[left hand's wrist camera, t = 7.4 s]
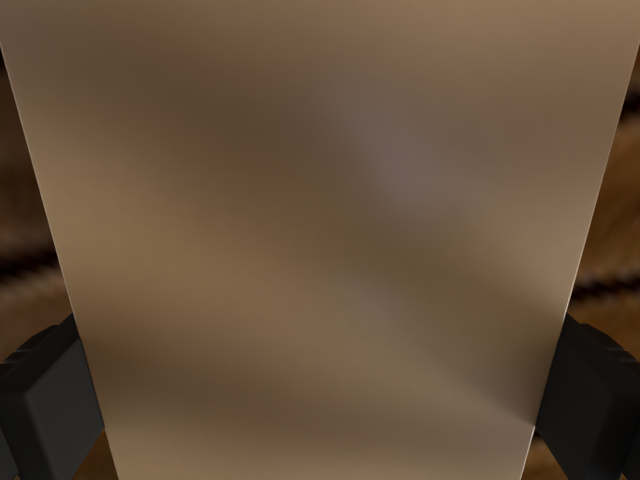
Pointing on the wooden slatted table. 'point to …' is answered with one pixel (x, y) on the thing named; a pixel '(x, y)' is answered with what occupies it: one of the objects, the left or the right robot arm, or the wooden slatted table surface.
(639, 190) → the wooden slatted table surface
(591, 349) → the left robot arm
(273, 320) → the cabinet
